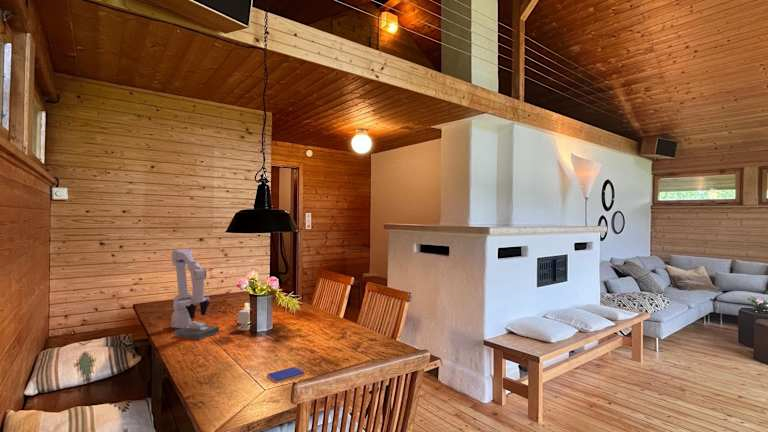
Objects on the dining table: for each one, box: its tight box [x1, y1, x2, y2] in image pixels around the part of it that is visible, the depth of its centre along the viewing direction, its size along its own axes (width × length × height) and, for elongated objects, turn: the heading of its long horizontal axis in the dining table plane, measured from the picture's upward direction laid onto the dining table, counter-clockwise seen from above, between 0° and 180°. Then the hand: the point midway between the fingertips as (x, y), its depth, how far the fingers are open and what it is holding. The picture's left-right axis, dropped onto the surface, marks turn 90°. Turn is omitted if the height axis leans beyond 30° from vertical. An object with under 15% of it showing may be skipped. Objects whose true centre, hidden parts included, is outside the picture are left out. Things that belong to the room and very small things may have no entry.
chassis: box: [174, 324, 220, 341], centre depth 210 cm, size 16×14×3 cm
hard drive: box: [266, 366, 305, 383], centre depth 159 cm, size 2×8×12 cm
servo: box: [186, 320, 208, 331], centre depth 210 cm, size 11×4×6 cm, turn 73°
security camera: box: [236, 308, 251, 331], centre depth 223 cm, size 6×7×10 cm
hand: (197, 316), depth 210 cm, fingers open, 7 cm apart
